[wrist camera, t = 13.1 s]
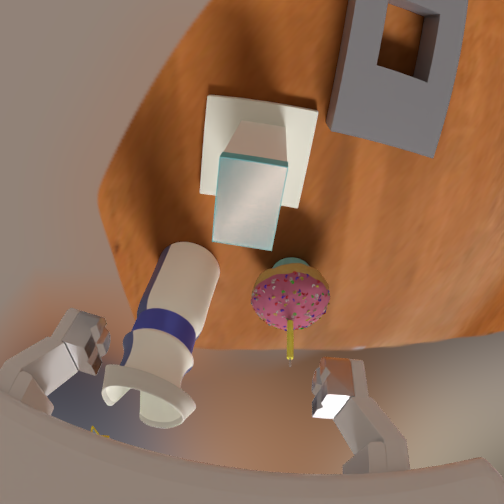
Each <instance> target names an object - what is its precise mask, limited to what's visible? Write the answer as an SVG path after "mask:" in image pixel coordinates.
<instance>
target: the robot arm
mask: <svg viewBox="0 0 504 504" xmlns="http://www.w3.org/2000/svg"><path fill="white" fill-rule="evenodd" d="M106 324H107V323H106V320H105V318H104V317H100V316H97V315H93V314H90V313H87V312H83V311H80V310H77V309H73V308H70V309H69V310H67V312H66V313H65V315H64V317H63V318H62V320H61V321H60V323H59V325H58V326H57V328H56V329H55V331H54V333H53V334H52V336H51V338H50V337H46V338H45V339H43V340H41V341H39V342H38V343H36V344H34V345H33V346H31V347H29V348H27V349H26V350H24V351H22V352H20V353H19V354H17V355H15V356H14V357H12V358H10V359H8V360H7V361H5V363H4V364H3V366H2V368H1V370H0V504H504V480H503V478H502V476H501V475H500V474H499V472H498V471H497V470H496V469H495V468H494V467H493V466H492V465H491V464H490V463H489V462H488V461H487V460H486V459H484V458H482V457H478V458H473V459H468V460H464V461H460V462H454V463H449V464H444V465H438V466H432V467H426V468H419V469H411V470H410V464H409V456H408V448H407V441H406V439H405V437H404V436H403V435H402V434H401V433H400V431H399V430H398V429H397V428H396V426H395V425H394V424H393V423H392V421H391V420H390V419H389V418H388V416H387V415H386V414H385V413H384V411H383V410H382V409H381V408H380V407H379V405H378V404H377V403H376V402H375V400H374V399H373V398H371V397H369V396H368V389H367V381H366V375H365V368H364V363H363V361H362V360H354V359H346V358H332V357H323V358H322V359H321V361H320V367H319V368H317V369H316V371H315V374H314V376H313V380H312V393H313V394H314V395H315V398H314V400H313V401H312V417H316V418H328V419H334V422H335V423H336V425H337V427H338V429H339V430H340V432H341V434H342V435H343V437H344V439H345V440H346V442H347V444H348V445H349V447H350V449H351V450H352V452H353V454H354V455H355V456H353V457H352V458H351V459H350V460H348V461H347V462H346V463H345V464H344V465H343V474H295V473H279V472H267V471H257V470H248V469H240V468H233V467H226V466H220V465H214V464H208V463H202V462H197V461H192V460H187V459H183V458H178V457H174V456H170V455H165V454H161V453H157V452H153V451H150V450H146V449H142V448H139V447H135V446H132V445H128V444H125V443H122V442H119V441H116V440H112V439H110V438H107V437H104V436H101V435H98V434H95V433H93V432H90V431H87V430H85V429H82V428H79V427H77V426H74V425H72V424H69V423H67V422H64V421H61V420H60V419H57V418H55V417H53V416H51V413H52V411H53V409H54V407H53V404H52V403H51V402H50V400H49V399H48V398H47V395H49V394H50V393H51V392H52V391H54V390H55V389H56V388H58V387H59V386H60V385H61V384H63V383H64V382H65V381H66V380H68V379H69V378H70V377H72V376H73V375H74V374H75V373H77V372H78V370H79V371H82V372H85V373H88V374H92V375H95V376H96V375H97V373H98V370H99V368H100V366H101V364H102V360H101V357H102V356H103V355H105V354H106V353H107V351H108V349H109V345H110V333H109V331H108V330H107V329H106V328H105V326H106Z"/></svg>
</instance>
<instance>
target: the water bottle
mask: <svg viewBox="0 0 504 504" xmlns="http://www.w3.org/2000/svg"><path fill="white" fill-rule="evenodd" d="M219 275H220V268H219V264H218V262H217V260H216V258H215V257H214V256H213V254H212V253H211V252H209V251H208V250H207V249H205V248H204V247H202V246H200V245H198V244H195V243H191V242H177V243H173V244H171V245H169V246H168V247H166V248H165V249H164V250H163V252H162V253H161V255H160V258H159V260H158V263H157V265H156V268H155V270H154V272H153V275H152V277H151V279H150V281H149V284H148V286H147V288H146V290H145V292H144V294H143V297H142V299H141V301H140V304H139V307H138V311H137V320H136V322H135V324H134V326H133V329H132V331H131V332H129V333H128V334H126V336H125V337H124V339H123V347H124V356H123V359H122V362H121V364H120V365H113V364H112V365H106V368H105V376H104V383H103V388H102V397H103V399H104V401H105V402H106V404H107V405H109V406H112V405H113V404H115V403H116V402H117V401H118V400H119V399H120V398H121V397H122V396H123V395H124V394H125V393H126V392H127V391H128V390H129V389H131V388H132V389H136V390H140V395H141V396H140V420H141V421H142V422H144V423H145V424H147V425H149V426H153V427H158V428H172V427H175V426H177V425H180V424H181V423H183V421H184V420H185V419H186V418H187V417H188V416H189V415H190V414H191V413H192V412H193V411H194V410H195V408H196V405H195V402H194V401H193V399H192V398H191V397H190V396H189V395H188V394H187V393H186V392H184V391H183V390H182V389H181V381H182V378H183V376H184V375H185V374H186V373H187V372H189V371H190V370H191V368H192V366H193V363H194V361H193V357H192V350H193V347H194V343H195V341H196V339H197V338H198V337H199V335H200V333H201V331H202V329H203V326H204V323H205V319H206V316H207V312H208V309H209V305H210V302H211V299H212V296H213V293H214V290H215V287H216V284H217V281H218V278H219ZM91 432H93V433H95V434H98V435H99V433H98V432H97V431H96V429H95V428H94V427H93V426H92V428H91ZM101 436H104V435H101ZM104 437H107V438H109V436H104Z"/></svg>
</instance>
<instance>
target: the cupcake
mask: <svg viewBox="0 0 504 504" xmlns="http://www.w3.org/2000/svg"><path fill="white" fill-rule="evenodd" d="M251 297H252V299H251V304H252V306H253V308H254V310H255V311H256V313H257V315H258V316H259V317H260V319H261V320H262V319H263V321H265V322H266V323H268V325H269V326H270V325H272V326H274V328H275V327H277V328H280V329H284V330H285V331H287V359H288V360H289V366H290V367H291V360H292V359H293V330H294V329H295V330H296V329H303V328H306V327H307V326H308V327H309V326H311V325H312V324H313V323H314V322H316V321H317V320H318V319H321V317H322V315H323V314H325V313H326V309H327V306H328V305H329V304H328V303H329V300H330V294H329V286H328V283H327V282H326V280H325V279H324V277H323V276H322V274H321V273H320V272H319V271H318V270H317V269H315V268H312V267H310V266H309V265H308V264H307V263H306V262H305V261H303V260H301V259H299V258H294V257H289V258H284V259H281V260H280V261H278V262H277V263H276V264H275V265H274V266H273V268H272V269H267V270H265V271H264V272H263V273H262V274H260V276H259V277H258V278H257V280H256V282H255V285H254V288H253V291H252V296H251Z"/></svg>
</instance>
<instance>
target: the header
mask: <svg viewBox="0 0 504 504" xmlns="http://www.w3.org/2000/svg"><path fill="white" fill-rule="evenodd" d="M388 3H389V4H392V5H395V6H398V7H401V8H403V9H406V10H409V11H411V12H414V13H416V14H419V15H421V16H424V23H423V29H422V35H421V40H420V46H419V51H418V56H417V61H416V66H415V70H414V75H413V77H411V76H408V75H405V74H403V73H400V72H397V71H394V70H391V69H387V68H384V67H381V66H378V65H377V61H378V56H379V51H380V45H381V40H382V34H383V29H384V23H385V17H386V11H387V5H388ZM467 6H468V0H348V7H347V13H346V19H345V24H344V30H343V36H342V41H341V47H340V52H339V58H338V63H337V69H336V74H335V79H334V84H333V89H332V94H331V99H330V104H329V109H328V114H327V118H326V124H327V125H328V127H329V129H330V130H331V131H333V132H338V133H342V134H347V135H351V136H355V137H359V138H363V139H367V140H371V141H375V142H379V143H383V144H386V145H390V146H394V147H397V148H401V149H404V150H407V151H411V152H414V153H417V154H420V155H424V156H427V157H430V158H433V157H434V154H435V151H436V148H437V144H438V141H439V138H440V134H441V131H442V128H443V124H444V120H445V117H446V113H447V109H448V106H449V102H450V98H451V94H452V89H453V85H454V81H455V76H456V72H457V67H458V62H459V57H460V52H461V46H462V41H463V35H464V28H465V21H466V14H467Z"/></svg>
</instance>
